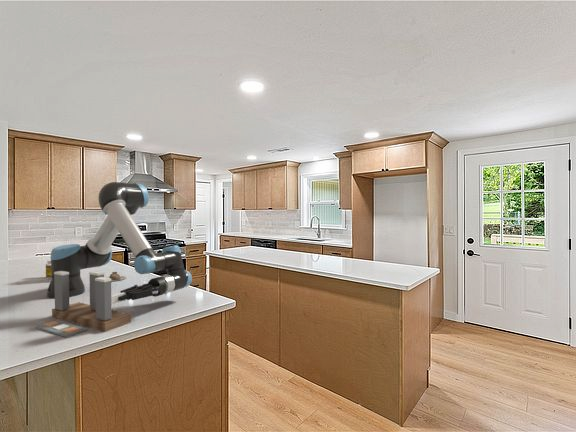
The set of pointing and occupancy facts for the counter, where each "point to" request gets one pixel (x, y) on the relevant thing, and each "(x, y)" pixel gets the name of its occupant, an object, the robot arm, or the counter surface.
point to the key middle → (93, 287)
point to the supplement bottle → (48, 269)
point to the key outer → (103, 298)
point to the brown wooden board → (91, 317)
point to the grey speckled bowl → (116, 277)
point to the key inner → (61, 290)
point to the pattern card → (61, 328)
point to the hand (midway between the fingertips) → (108, 300)
